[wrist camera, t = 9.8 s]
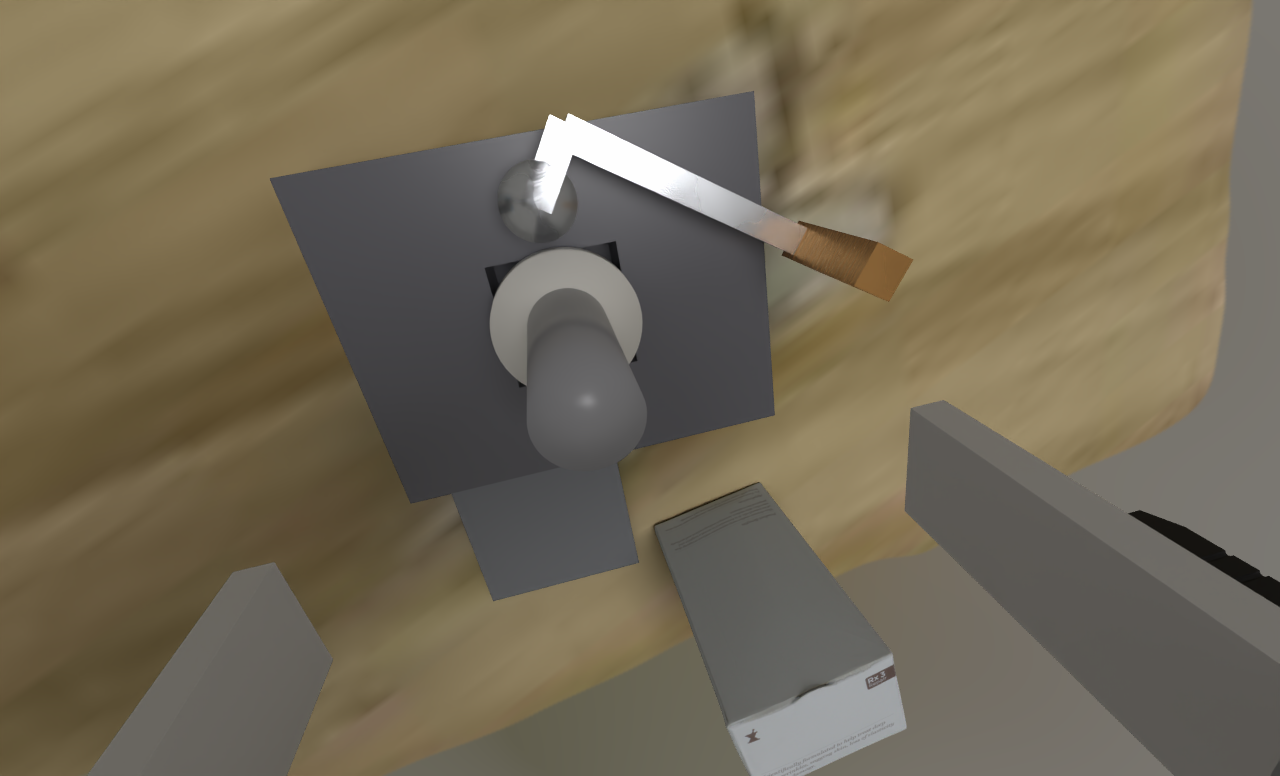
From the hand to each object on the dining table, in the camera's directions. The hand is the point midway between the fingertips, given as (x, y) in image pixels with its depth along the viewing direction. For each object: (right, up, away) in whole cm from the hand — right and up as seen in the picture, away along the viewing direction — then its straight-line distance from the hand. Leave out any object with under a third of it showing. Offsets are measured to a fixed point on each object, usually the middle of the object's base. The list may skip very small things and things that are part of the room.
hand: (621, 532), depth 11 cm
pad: (-5, -5, +23) cm, 25 cm away
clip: (+2, +10, +11) cm, 15 cm away
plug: (-4, +8, +17) cm, 19 cm away
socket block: (-4, +8, +18) cm, 20 cm away
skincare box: (+6, -7, +27) cm, 28 cm away
